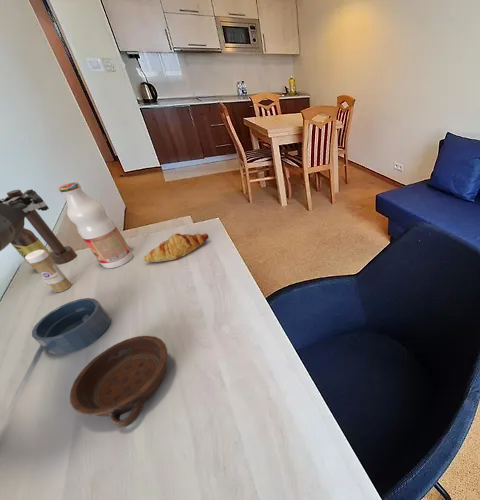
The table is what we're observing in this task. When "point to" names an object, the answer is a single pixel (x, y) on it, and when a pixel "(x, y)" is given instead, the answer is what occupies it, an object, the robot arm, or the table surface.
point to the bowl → (71, 326)
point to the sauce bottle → (27, 243)
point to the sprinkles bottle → (48, 270)
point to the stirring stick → (48, 236)
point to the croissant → (176, 247)
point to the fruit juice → (96, 227)
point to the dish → (120, 379)
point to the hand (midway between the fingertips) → (25, 195)
